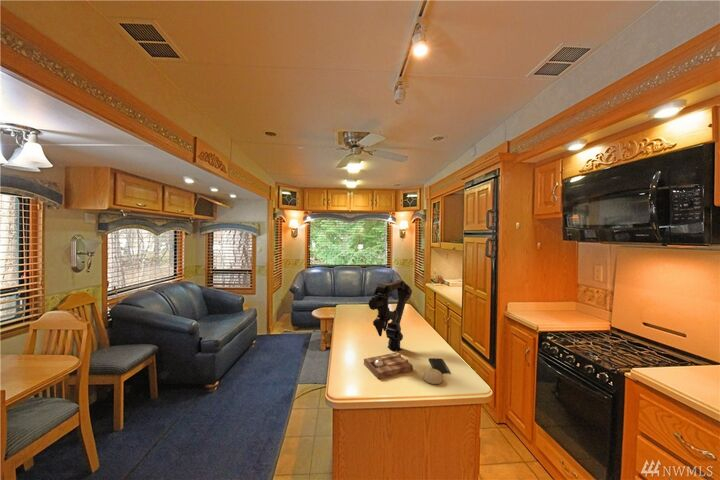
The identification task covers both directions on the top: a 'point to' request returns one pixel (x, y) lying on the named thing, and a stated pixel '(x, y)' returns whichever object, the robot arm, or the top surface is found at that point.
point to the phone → (439, 365)
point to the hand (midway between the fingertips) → (382, 333)
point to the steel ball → (378, 363)
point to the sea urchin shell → (433, 376)
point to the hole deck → (388, 365)
